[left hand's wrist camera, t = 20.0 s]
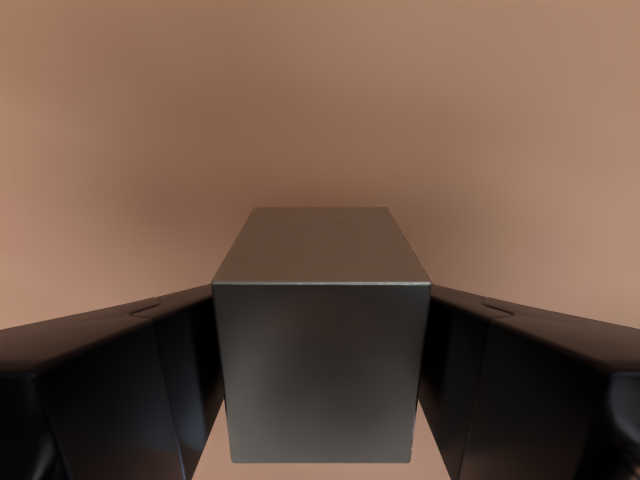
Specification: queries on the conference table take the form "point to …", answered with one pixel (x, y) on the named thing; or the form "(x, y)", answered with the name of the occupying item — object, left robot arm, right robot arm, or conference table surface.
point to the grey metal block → (321, 337)
